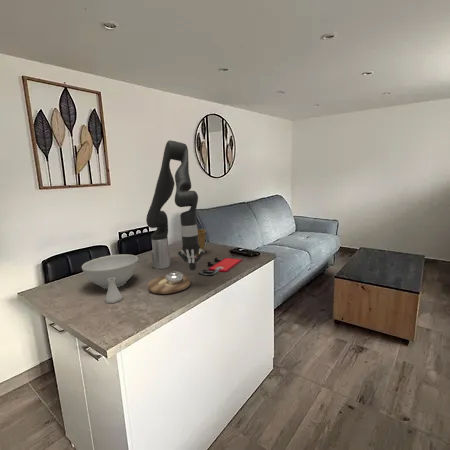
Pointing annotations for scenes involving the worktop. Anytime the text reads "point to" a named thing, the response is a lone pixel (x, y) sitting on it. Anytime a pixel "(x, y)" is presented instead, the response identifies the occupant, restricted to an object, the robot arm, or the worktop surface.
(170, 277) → the cover
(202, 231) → the plant pot
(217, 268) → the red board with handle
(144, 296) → the worktop surface
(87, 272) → the decorative bowl
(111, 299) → the flask
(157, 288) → the turntable
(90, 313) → the worktop surface
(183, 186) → the robot arm
